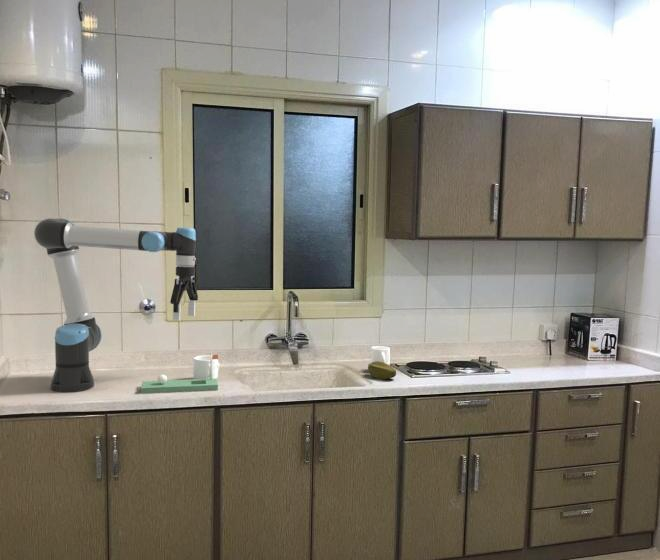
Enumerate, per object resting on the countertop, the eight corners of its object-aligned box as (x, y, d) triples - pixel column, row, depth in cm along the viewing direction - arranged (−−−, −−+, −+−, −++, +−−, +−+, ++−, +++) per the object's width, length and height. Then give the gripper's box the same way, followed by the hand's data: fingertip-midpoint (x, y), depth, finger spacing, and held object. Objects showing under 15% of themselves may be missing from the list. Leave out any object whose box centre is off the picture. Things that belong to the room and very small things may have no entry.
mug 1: (223, 382, 239) (224, 360, 239) (198, 385, 235) (198, 362, 234) (215, 375, 250) (215, 354, 249) (190, 378, 245) (190, 356, 245)
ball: (157, 385, 225) (157, 375, 225) (157, 382, 229) (157, 373, 228) (167, 384, 226) (167, 375, 226) (167, 382, 230) (167, 373, 229)
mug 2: (392, 374, 259) (393, 351, 258) (373, 374, 258) (374, 351, 257) (387, 368, 271) (388, 346, 270) (369, 368, 270) (370, 346, 269)
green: (141, 393, 221) (140, 361, 220) (142, 386, 230) (142, 355, 229) (219, 389, 228) (219, 359, 227) (217, 383, 238) (217, 353, 237)
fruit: (369, 380, 248) (369, 365, 247) (367, 373, 260) (367, 359, 259) (396, 381, 248) (397, 365, 247) (393, 374, 260) (394, 359, 259)
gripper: (180, 268, 228) (178, 323, 229) (206, 265, 252) (205, 314, 254) (162, 267, 229) (160, 321, 231) (190, 264, 254) (189, 313, 255)
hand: (184, 318), depth 242 cm, fingers open, 13 cm apart
